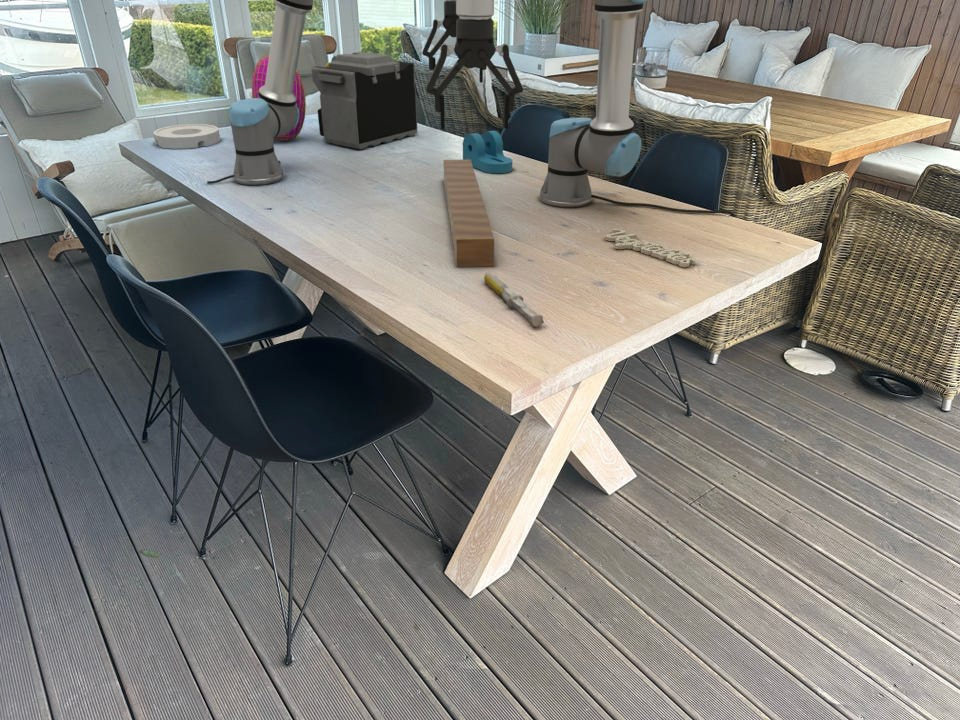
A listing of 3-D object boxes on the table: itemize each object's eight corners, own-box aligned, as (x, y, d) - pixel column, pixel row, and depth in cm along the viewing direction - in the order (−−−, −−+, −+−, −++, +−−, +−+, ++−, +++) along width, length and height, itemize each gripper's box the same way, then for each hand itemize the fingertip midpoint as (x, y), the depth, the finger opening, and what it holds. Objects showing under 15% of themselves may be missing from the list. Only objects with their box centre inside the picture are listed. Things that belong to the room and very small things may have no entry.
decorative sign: (591, 236, 174) (616, 227, 180) (591, 240, 174) (616, 231, 180) (679, 267, 157) (703, 256, 163) (678, 271, 158) (703, 260, 163)
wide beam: (493, 266, 159) (494, 238, 156) (456, 267, 159) (456, 239, 155) (470, 180, 220) (470, 159, 217) (443, 180, 220) (443, 159, 216)
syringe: (480, 279, 152) (480, 268, 151) (495, 277, 153) (495, 266, 152) (526, 330, 132) (527, 317, 131) (544, 326, 134) (545, 314, 132)
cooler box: (381, 126, 286) (376, 48, 271) (421, 134, 275) (419, 52, 260) (314, 143, 261) (305, 57, 245) (356, 151, 250) (349, 62, 234)
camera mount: (462, 163, 238) (462, 131, 233) (487, 158, 243) (487, 128, 238) (493, 175, 225) (494, 142, 220) (518, 170, 230) (519, 138, 225)
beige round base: (171, 134, 271) (168, 123, 269) (229, 135, 270) (227, 124, 268) (144, 148, 251) (141, 136, 249) (207, 149, 251) (205, 138, 249)
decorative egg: (293, 132, 276) (283, 50, 261) (319, 140, 264) (310, 56, 249) (249, 139, 265) (236, 54, 250) (273, 148, 253) (261, 60, 238)
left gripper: (500, -1, 194) (498, 79, 205) (412, -1, 192) (415, 80, 203) (503, 1, 187) (501, 83, 198) (412, 0, 186) (415, 84, 196)
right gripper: (534, 16, 141) (529, 123, 152) (412, 15, 139) (416, 124, 150) (539, 19, 134) (534, 131, 145) (412, 18, 133) (416, 131, 143)
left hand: (457, 82), depth 201 cm, fingers open, 13 cm apart
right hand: (474, 127), depth 148 cm, fingers open, 13 cm apart
